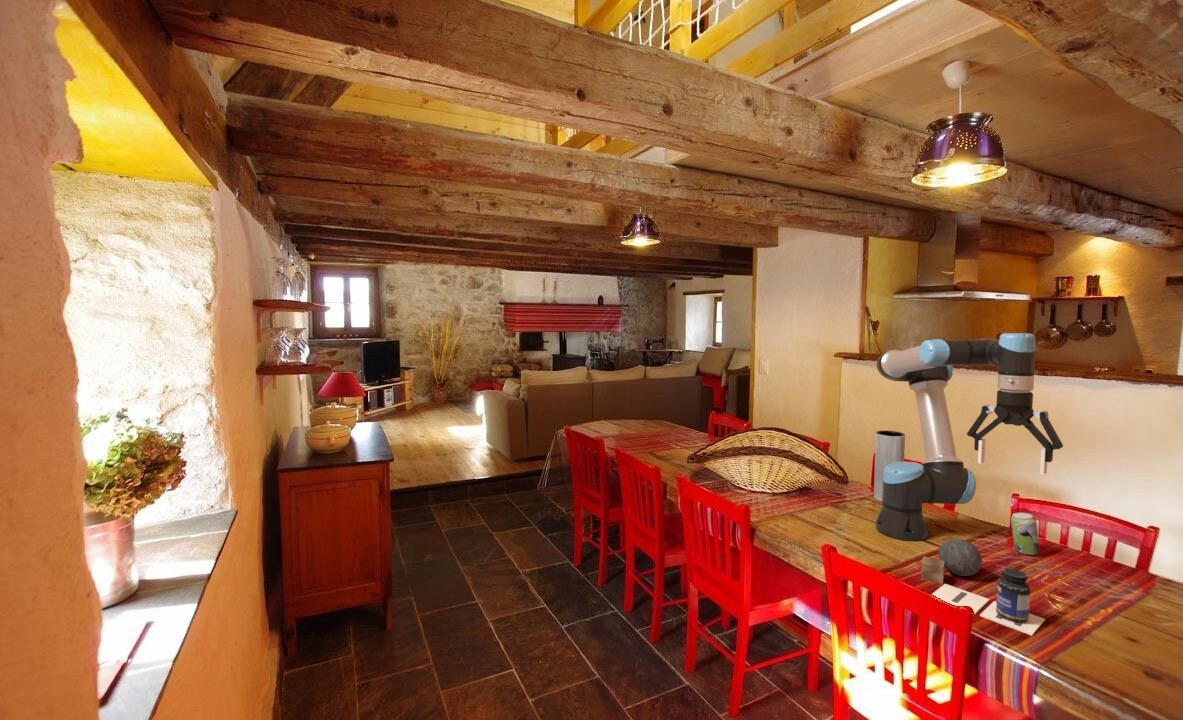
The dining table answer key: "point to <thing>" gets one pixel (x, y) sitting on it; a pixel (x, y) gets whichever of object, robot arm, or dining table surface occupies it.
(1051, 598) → the dining table surface
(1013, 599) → the pill bottle
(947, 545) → the decorative ball
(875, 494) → the vase
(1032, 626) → the coaster
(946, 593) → the coaster
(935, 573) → the walnut block
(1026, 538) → the beverage can
